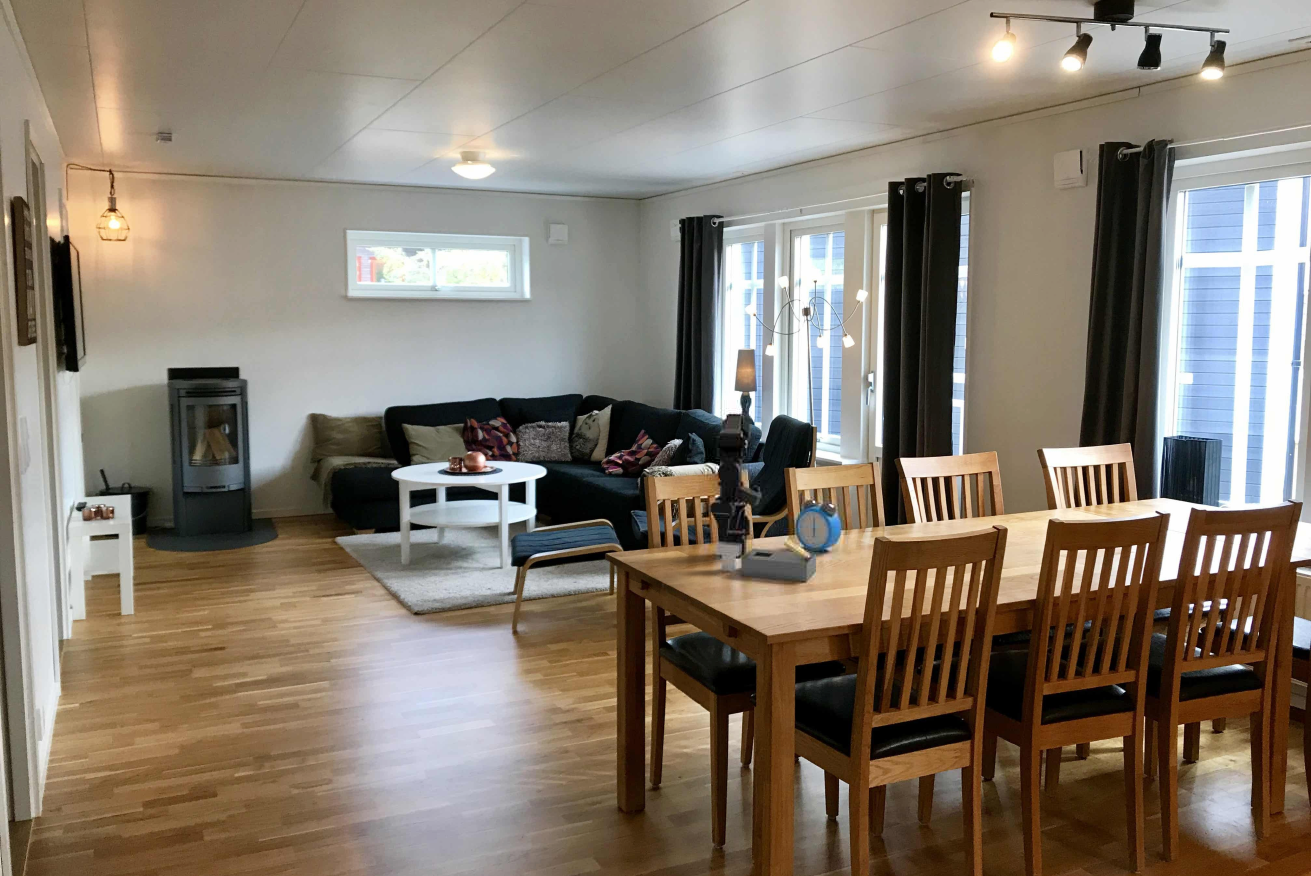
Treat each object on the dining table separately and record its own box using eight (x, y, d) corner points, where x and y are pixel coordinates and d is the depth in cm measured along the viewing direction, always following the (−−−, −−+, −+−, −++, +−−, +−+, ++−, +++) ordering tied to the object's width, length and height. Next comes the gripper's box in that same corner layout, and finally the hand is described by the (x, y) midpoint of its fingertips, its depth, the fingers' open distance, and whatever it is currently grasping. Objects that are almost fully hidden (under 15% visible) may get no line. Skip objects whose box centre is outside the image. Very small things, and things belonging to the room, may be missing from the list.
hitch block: (741, 575, 281) (741, 557, 280) (752, 565, 292) (753, 548, 292) (806, 582, 275) (807, 563, 274) (815, 571, 286) (816, 554, 285)
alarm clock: (793, 548, 315) (794, 499, 313) (805, 544, 319) (806, 496, 318) (830, 554, 306) (831, 505, 304) (841, 551, 311) (843, 502, 309)
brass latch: (783, 544, 280) (785, 542, 280) (787, 541, 284) (788, 539, 284) (806, 560, 278) (808, 558, 278) (810, 557, 282) (812, 554, 282)
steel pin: (716, 570, 287) (716, 543, 286) (719, 567, 290) (719, 541, 289) (738, 572, 285) (738, 545, 284) (741, 569, 288) (741, 543, 287)
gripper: (750, 484, 273) (749, 542, 275) (767, 474, 290) (766, 529, 292) (709, 482, 277) (708, 539, 279) (729, 472, 294) (728, 526, 296)
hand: (729, 533), depth 286 cm, fingers open, 9 cm apart
